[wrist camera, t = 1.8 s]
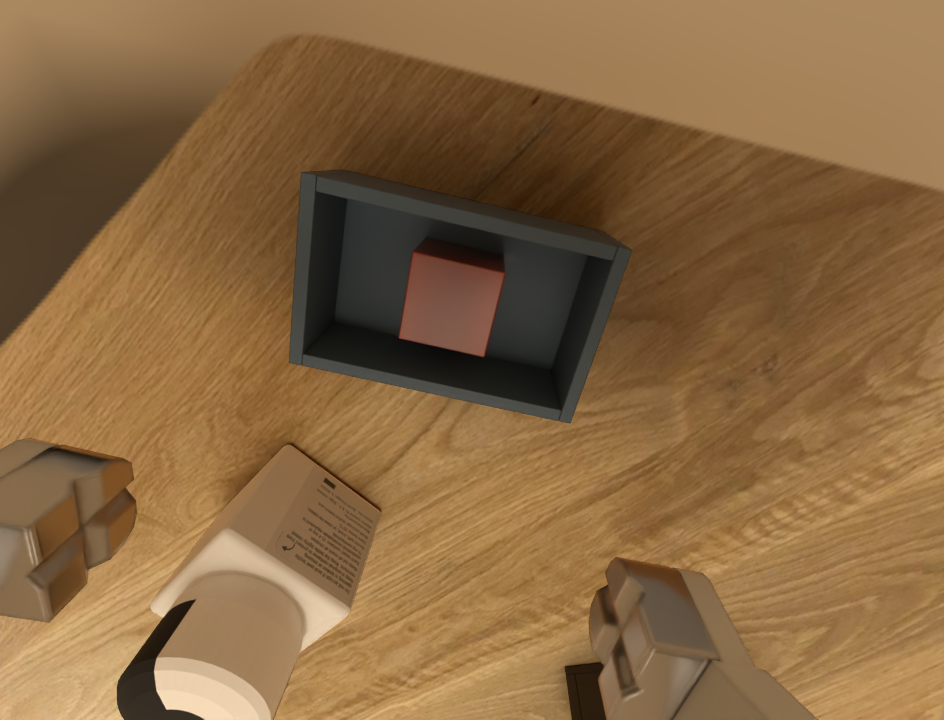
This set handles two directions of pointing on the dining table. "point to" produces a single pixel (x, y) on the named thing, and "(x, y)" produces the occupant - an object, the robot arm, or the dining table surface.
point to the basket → (585, 692)
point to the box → (385, 280)
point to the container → (252, 597)
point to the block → (452, 296)
